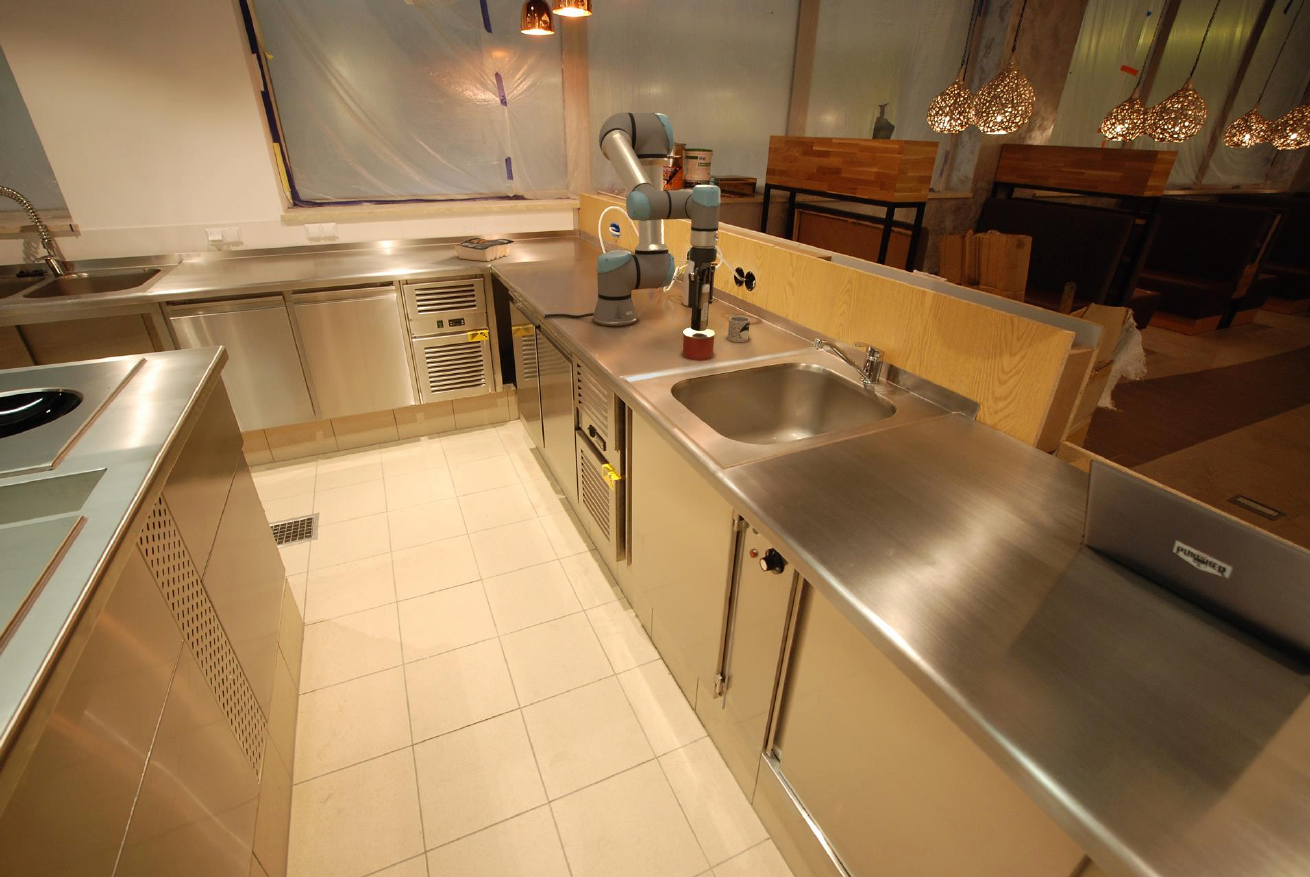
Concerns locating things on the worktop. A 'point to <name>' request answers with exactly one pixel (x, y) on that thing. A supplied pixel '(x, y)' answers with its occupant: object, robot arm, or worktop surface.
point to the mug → (738, 329)
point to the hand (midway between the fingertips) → (699, 327)
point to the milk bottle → (687, 280)
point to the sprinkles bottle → (704, 307)
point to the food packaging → (483, 249)
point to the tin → (698, 344)
